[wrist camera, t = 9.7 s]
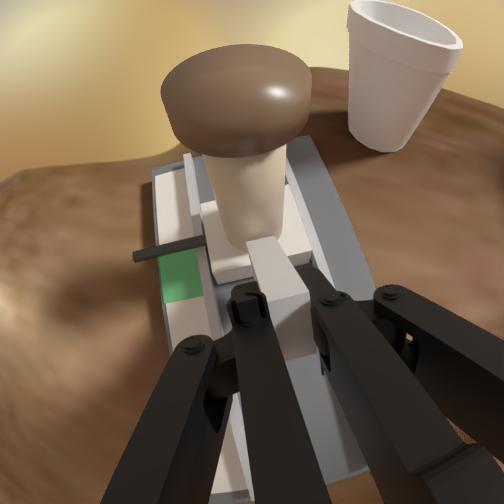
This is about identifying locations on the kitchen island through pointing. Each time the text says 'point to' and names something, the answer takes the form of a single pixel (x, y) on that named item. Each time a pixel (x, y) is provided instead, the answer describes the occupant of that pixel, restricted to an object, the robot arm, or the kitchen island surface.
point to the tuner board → (216, 295)
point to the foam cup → (394, 70)
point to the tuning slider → (240, 150)
